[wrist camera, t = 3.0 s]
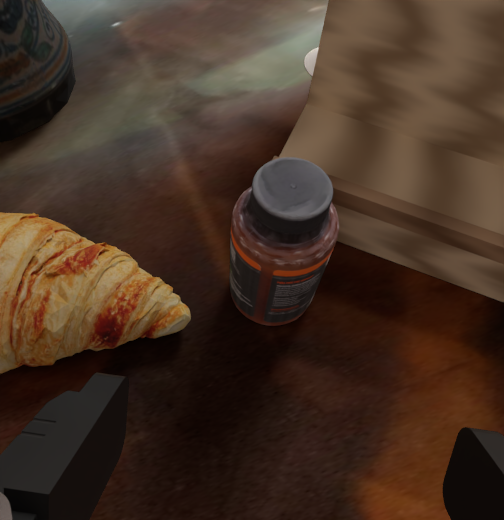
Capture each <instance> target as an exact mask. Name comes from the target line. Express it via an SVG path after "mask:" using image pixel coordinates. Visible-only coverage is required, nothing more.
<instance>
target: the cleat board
mask: <svg viewBox="0 0 504 520" xmlns="http://www.w3.org/2000/svg"><path fill="white" fill-rule="evenodd" d="M284 157H295V158H300V159H304V160H307V161H310V162H312V163H314V164H315V165H317V166H318V167H320V168H321V169H322V170H323V171H324V172H325V173H326V174H327V175H328V177H329V179H330V181H331V183H332V187H333V198H332V203H333V205H334V207H335V209H336V212H337V215H338V220H339V233H338V237H337V241H338V242H341V243H344V244H346V245H349V246H352V247H354V248H357V249H360V250H363V251H365V252H368V253H371V254H373V255H376V256H379V257H382V258H384V259H387V260H390V261H392V262H395V263H398V264H401V265H403V266H406V267H409V268H411V269H414V270H417V271H420V272H422V273H425V274H428V275H430V276H433V277H436V278H439V279H441V280H444V281H447V282H449V283H452V284H455V285H457V286H460V287H463V288H466V289H468V290H471V291H474V292H476V293H479V294H482V295H485V296H487V297H490V298H493V299H495V300H498V301H501V302H504V0H329V3H328V7H327V12H326V16H325V21H324V26H323V30H322V35H321V40H320V44H319V49H318V54H317V58H316V63H315V67H314V72H313V77H312V81H311V86H310V91H309V95H308V100H307V104H306V106H305V108H304V110H303V112H302V114H301V115H300V117H299V119H298V121H297V123H296V125H295V127H294V129H293V131H292V133H291V135H290V137H289V139H288V141H287V143H286V144H285V146H284V148H283V150H282V152H281V154H280V156H279V157H277V156H274V157H273V159H272V160H275V159H278V158H284Z"/></svg>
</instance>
